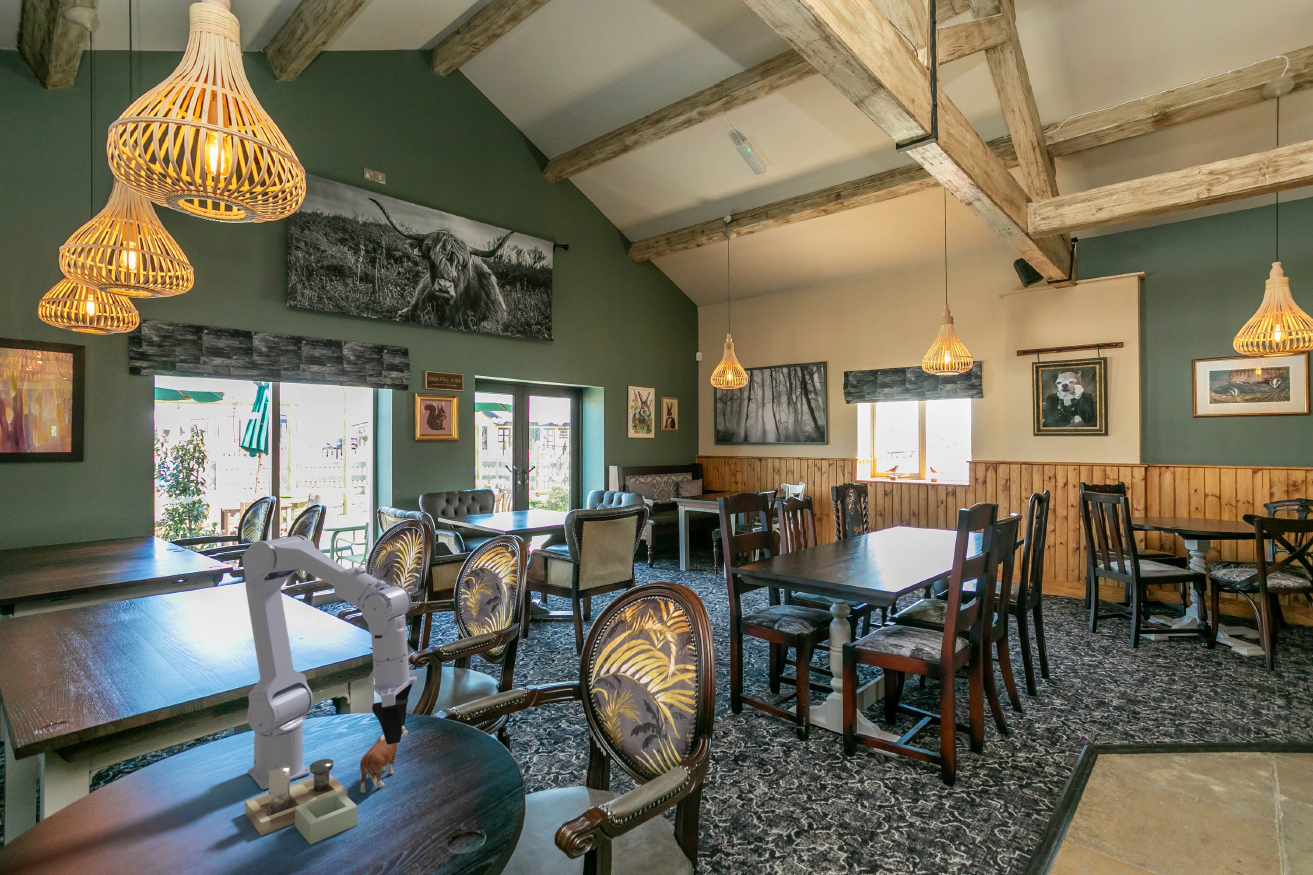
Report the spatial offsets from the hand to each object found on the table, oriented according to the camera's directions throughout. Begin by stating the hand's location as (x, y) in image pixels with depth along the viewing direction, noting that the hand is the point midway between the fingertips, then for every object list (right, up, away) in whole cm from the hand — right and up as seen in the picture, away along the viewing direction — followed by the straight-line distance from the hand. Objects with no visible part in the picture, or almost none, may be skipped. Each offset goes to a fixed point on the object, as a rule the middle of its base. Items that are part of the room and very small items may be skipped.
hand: (396, 734), depth 111 cm
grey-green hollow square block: (-8, -10, -9) cm, 16 cm away
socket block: (-14, -11, -5) cm, 18 cm away
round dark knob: (-12, -8, -2) cm, 15 cm away
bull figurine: (-5, -11, +5) cm, 13 cm away
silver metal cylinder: (-16, -10, -7) cm, 21 cm away
